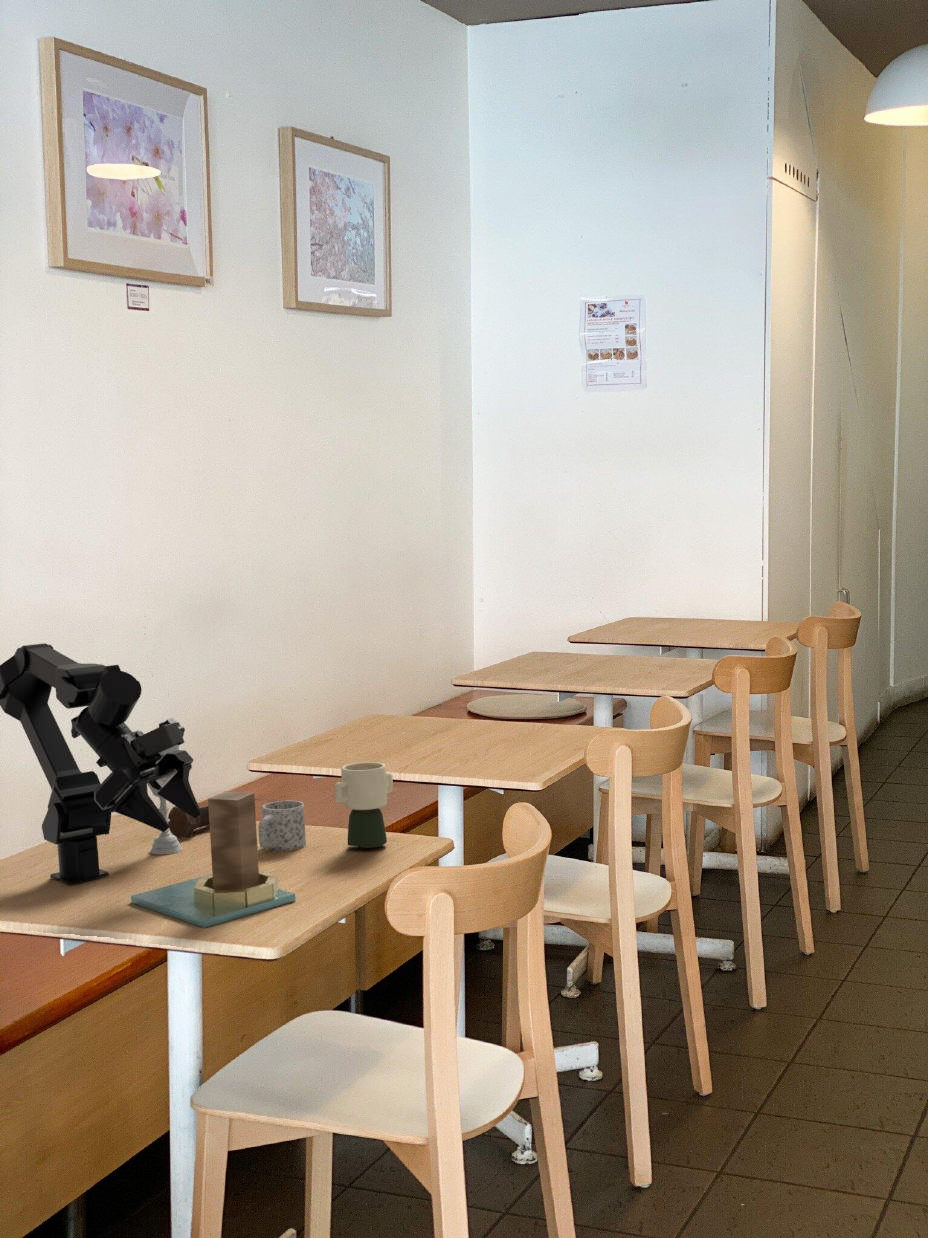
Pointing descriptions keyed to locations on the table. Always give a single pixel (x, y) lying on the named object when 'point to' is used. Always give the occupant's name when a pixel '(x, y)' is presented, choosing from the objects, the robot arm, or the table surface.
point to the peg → (233, 841)
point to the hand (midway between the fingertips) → (183, 823)
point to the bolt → (186, 822)
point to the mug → (282, 826)
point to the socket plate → (213, 900)
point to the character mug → (365, 801)
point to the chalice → (167, 841)
